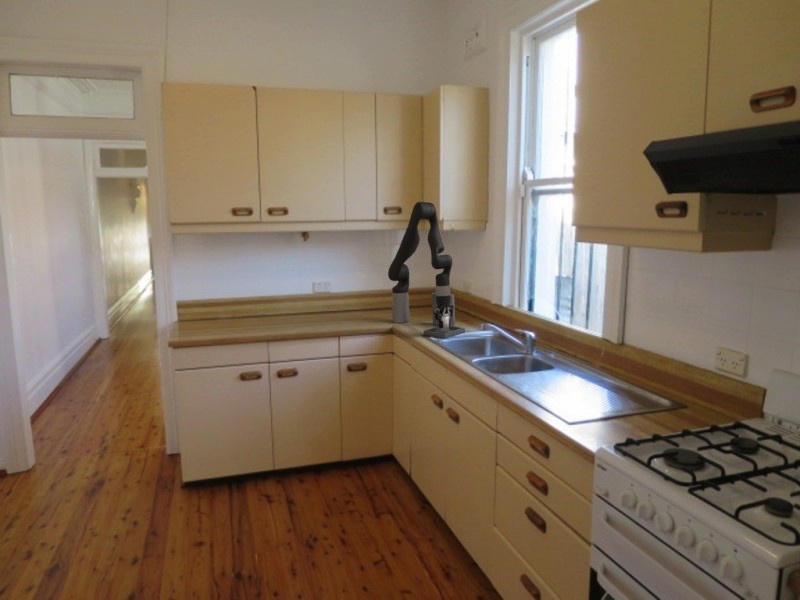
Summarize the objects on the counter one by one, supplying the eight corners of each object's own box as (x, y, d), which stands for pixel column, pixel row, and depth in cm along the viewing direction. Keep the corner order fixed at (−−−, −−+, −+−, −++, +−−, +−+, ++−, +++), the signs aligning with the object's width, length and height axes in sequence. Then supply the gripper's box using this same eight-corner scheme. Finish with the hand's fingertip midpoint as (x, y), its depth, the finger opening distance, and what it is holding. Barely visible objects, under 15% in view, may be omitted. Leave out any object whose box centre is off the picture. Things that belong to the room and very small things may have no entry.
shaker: (438, 329, 292) (437, 314, 291) (444, 328, 296) (443, 312, 294) (445, 330, 289) (444, 315, 288) (450, 329, 293) (450, 313, 291)
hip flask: (456, 326, 309) (455, 290, 306) (451, 327, 307) (450, 291, 303) (435, 323, 321) (434, 287, 318) (430, 324, 319) (429, 288, 315)
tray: (423, 335, 292) (423, 330, 292) (443, 329, 303) (443, 324, 303) (445, 338, 282) (444, 333, 282) (464, 332, 294) (464, 327, 293)
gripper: (446, 291, 297) (447, 323, 300) (428, 295, 287) (429, 328, 290) (457, 292, 292) (458, 325, 295) (439, 296, 282) (441, 330, 285)
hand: (444, 326), depth 292 cm, fingers closed on shaker, 4 cm apart
